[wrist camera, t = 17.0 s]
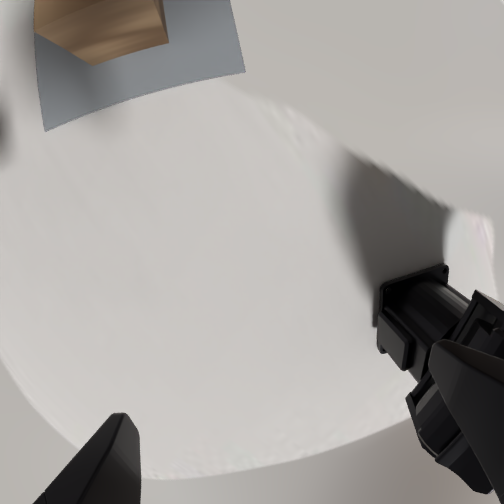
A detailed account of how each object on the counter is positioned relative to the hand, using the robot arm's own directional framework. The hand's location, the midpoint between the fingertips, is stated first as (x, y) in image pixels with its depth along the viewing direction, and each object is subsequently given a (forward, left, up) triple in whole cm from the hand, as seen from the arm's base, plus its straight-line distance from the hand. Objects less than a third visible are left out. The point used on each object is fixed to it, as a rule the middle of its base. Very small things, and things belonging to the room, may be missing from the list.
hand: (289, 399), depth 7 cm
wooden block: (+4, -15, -11) cm, 19 cm away
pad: (+4, -15, -12) cm, 19 cm away
